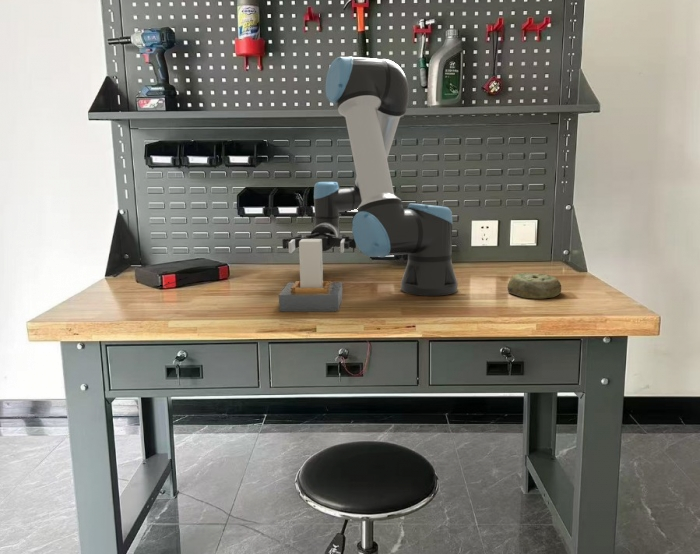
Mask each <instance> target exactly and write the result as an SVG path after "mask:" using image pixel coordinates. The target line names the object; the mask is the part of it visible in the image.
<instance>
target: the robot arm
mask: <svg viewBox="0 0 700 554" xmlns="http://www.w3.org/2000/svg"><path fill="white" fill-rule="evenodd" d="M325 79H326V80H325V95H326V99H327V100H328V102H329V103H332V104H336V107H337V111H338V114H339V115H340V116H343V117H344V118H345V122H346V128H347V132H348V133H347V134H348V138H349V144H350V148H351V154H352V160H353V164H354V169H355V174H356V177H355V181H354V184H353V186H350V187H346V186H345V187H344V186H343V187H342V186H341V187H339V183H338V181H318V182H316V183H315V184H314V188H313V203H314V204H313V205H314V228H313V229H312V230H311V233H310V234H306V236H305V237H304V235H303V234H299V235H295V236H292V237H287V238H282V241H281V242H282V243H281V245H282V249H284V250H285V249H288V253H289V254H293V253H294V251H296V248H299V241H300V240H301V239H322V252H326V251H329V250H331V249H332V248H335V247H336V248H340V249H339V250H340V254H343V253H344V252H345V249H346V250H348V249H356V248H358V250H359V251H360V252H361V253H362V254H363V255H365V256H366V257H370V258H377V257H379V258H385V257H391V256H399V255H407V264H406V267H405V270H404V271H403V272H404V273H403V276H402V277H401V278H402V279H401V281H400V290H401V291H402V292H403V293H406V294H409V295H417V296H427V297H431V296H433V297H436V296H437V297H438V296H447V295H452V294H454V293H456V292H457V291H458V286H459V285H458V280H457V276H456V272H455V270H454V267H453V263H452V249H453V248H452V247H453V246H452V245H453V225H454V223H453V212H452V209H451V208H450V207H448V206H441V205H432V204H421V203H412V202H411V203H410V202H409V204H408V206H407V208H406V209H404V205H403V203H402V202H403V201H402V199H401V198H400V197H398V196H397V195H396V194H395V192H394V186H393V182H392V178H391V173H390V168H389V167H390V166H389V162H388V158H389V154H390V151H391V147H392V145H393V141H394V138H395V135H396V131H397V128H398V125H399V122H400V119H401V117H403V116H405V114H406V111H407V108H408V105H409V99H410V89H409V82H408V79H407V77H406V75H405V73H404V71H403V69H402V68H401V66H399V64H397V63H395V62H394V61H392V60H390V59H386V58H370V57H355V56H338V57H336V58H335V59H333V60H332V62H331V64H330V66H329V68H328V69H327V74H326V78H325ZM357 208H358V209H357ZM354 209H357V210H358V211H357V213H356V214H355V215H354V216H353V219H352V227H351V228H352V231H351V232H352V237H350V236H347V235H346V234H341V229H340V227H339V226H340V224H339V223H340V222H339V221H340V220H339V219H340V213H345V211H347V212H352V211H351V210H354ZM340 234H341V235H340Z"/></svg>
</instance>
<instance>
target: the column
mask: <svg viewBox="0 0 700 554" xmlns="http://www.w3.org/2000/svg"><path fill="white" fill-rule="evenodd" d="M298 250H299V252H298V253H299V256H298V257H299V281H300V288H322V287H323V281H324V275H323V274H324V272H323V270H324V269H323V267H324V266H323V251H322V239H301V240H300V241H299V249H298Z"/></svg>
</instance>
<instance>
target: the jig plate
mask: <svg viewBox="0 0 700 554" xmlns="http://www.w3.org/2000/svg"><path fill="white" fill-rule="evenodd" d="M342 300H343V282H333V281H332V280H323V287H322V288H300V280H295V282H287V284H286V285H285V286H284V288H283V289H282V290H281V291H280V293H279V294H278V306H279V307H278V309H279V312H311V313H312V312H314V313H315V312H316V313H317V312H319V313H320V312H329V313H330V311H333V312H332V313H335V312H334V311H338V312H339V310H340V307H341V303H342Z"/></svg>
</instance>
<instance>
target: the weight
mask: <svg viewBox="0 0 700 554" xmlns="http://www.w3.org/2000/svg"><path fill="white" fill-rule="evenodd" d="M507 292H508V293H509V294H511V295H515V296H517V297H519V298H523V299H535V300H542V299H543V300H544V299H549V298H552V299H553V298H555V297H557V296H558V295H560V294H561V293H562V284H561V282H560V281H559V279H558V278H557V277H555V276H554V275H549V274H545V273H537V272H536V273H535V272H534V273H533V272H522V273H516V274H514V275H512V276H511V277H510V279H509V280H508V283H507Z"/></svg>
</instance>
